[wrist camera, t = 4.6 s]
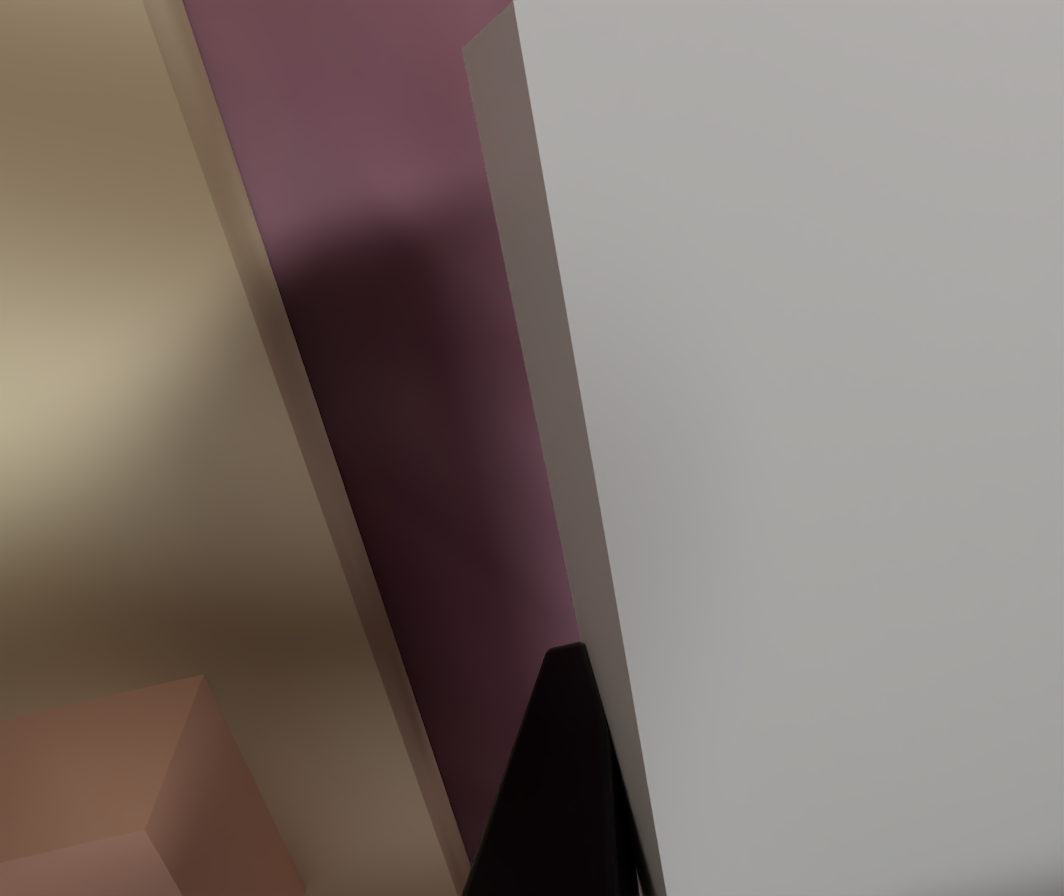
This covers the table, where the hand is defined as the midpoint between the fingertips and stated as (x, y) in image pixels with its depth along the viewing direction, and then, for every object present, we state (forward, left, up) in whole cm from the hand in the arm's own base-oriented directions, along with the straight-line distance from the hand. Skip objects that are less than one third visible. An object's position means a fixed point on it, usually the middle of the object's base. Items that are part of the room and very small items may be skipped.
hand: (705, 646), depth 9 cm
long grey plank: (0, 0, -1) cm, 1 cm away
